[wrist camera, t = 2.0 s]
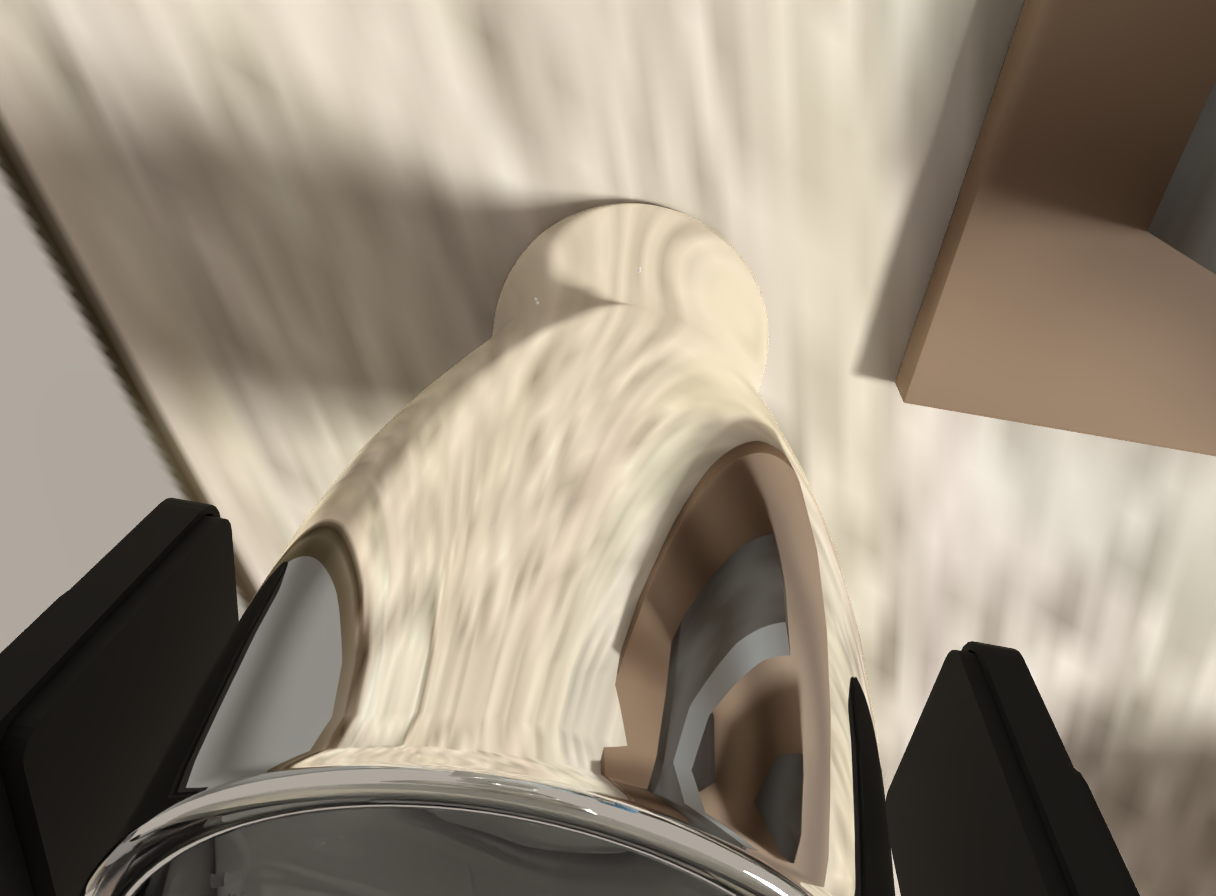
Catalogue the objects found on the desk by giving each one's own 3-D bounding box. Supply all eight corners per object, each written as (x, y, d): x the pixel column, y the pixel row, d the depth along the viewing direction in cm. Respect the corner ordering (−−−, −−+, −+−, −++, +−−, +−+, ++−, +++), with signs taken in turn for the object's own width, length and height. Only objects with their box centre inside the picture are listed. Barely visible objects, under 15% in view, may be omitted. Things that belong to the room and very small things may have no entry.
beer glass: (847, 372, 20) (1120, 1190, 7) (602, 516, 22) (452, 1310, 9) (667, 107, 17) (540, 566, 4) (416, 301, 20) (-141, 960, 7)
